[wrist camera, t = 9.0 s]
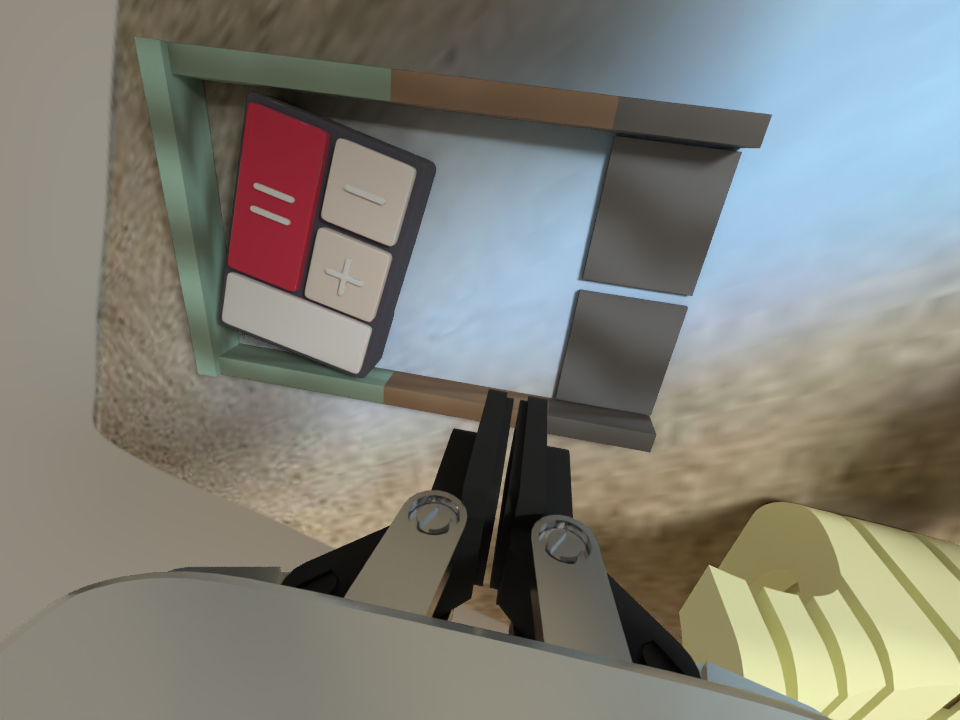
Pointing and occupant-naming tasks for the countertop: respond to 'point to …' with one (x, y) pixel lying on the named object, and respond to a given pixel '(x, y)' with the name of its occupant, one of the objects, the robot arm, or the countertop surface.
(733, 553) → the slatted curved stool
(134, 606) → the robot arm
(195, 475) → the countertop surface
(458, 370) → the countertop surface
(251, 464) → the countertop surface
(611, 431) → the channel
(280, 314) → the calculator
